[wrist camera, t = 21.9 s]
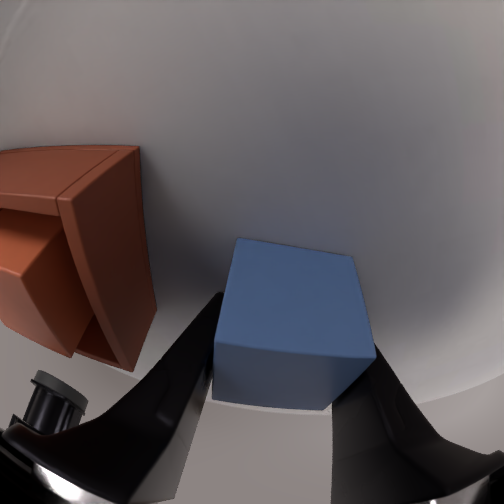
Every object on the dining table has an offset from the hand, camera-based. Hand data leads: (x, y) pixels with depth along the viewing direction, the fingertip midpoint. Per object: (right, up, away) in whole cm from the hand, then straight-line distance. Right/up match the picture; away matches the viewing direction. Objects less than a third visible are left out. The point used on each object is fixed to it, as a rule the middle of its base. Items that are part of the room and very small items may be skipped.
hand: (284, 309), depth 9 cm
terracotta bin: (-9, +3, 0) cm, 9 cm away
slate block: (0, +1, +1) cm, 1 cm away
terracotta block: (-9, +3, 0) cm, 9 cm away
